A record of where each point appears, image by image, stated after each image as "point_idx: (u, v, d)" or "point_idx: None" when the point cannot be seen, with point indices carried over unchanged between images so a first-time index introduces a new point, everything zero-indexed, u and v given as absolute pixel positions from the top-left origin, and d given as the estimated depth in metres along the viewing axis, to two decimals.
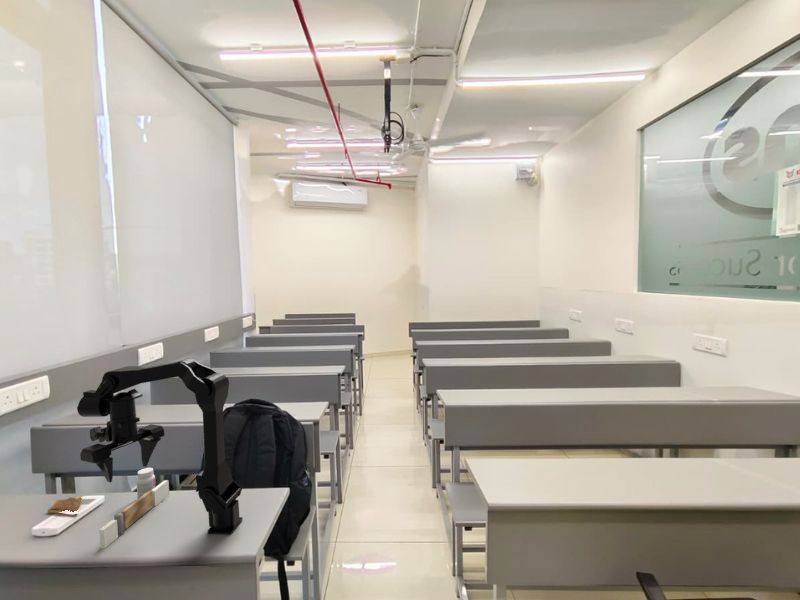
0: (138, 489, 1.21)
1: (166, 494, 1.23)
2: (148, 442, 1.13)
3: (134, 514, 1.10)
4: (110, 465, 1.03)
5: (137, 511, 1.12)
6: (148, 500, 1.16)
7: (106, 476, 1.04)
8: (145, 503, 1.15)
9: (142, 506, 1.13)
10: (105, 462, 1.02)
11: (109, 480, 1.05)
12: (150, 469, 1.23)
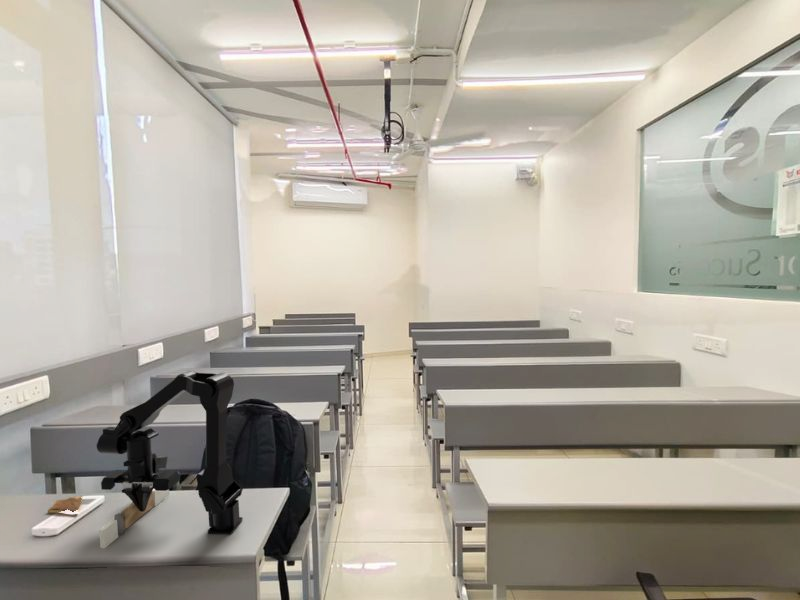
0: None
1: (166, 494, 1.23)
2: None
3: (134, 514, 1.10)
4: (131, 497, 1.09)
5: (137, 511, 1.12)
6: None
7: None
8: None
9: None
10: (125, 492, 1.09)
11: None
12: None
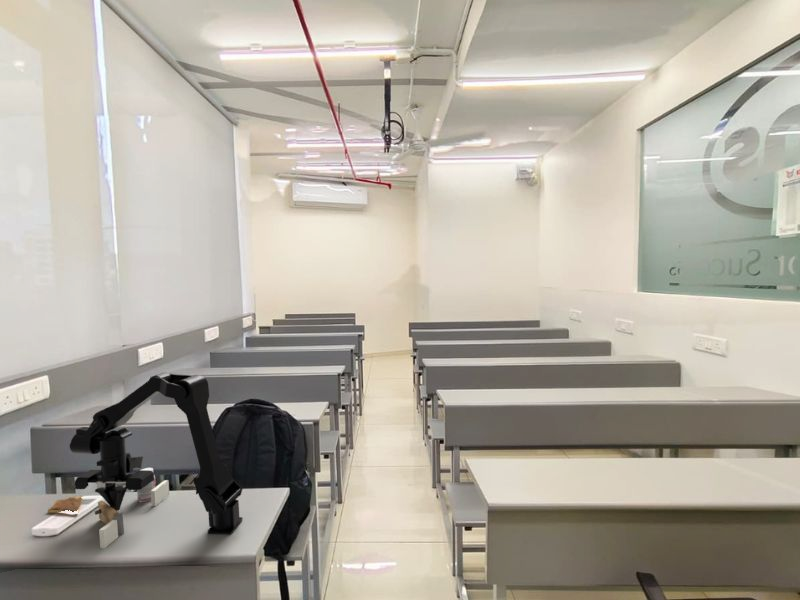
0: None
1: (166, 494, 1.23)
2: None
3: None
4: (105, 496, 1.10)
5: None
6: None
7: None
8: None
9: None
10: (98, 492, 1.09)
11: None
12: (150, 469, 1.23)
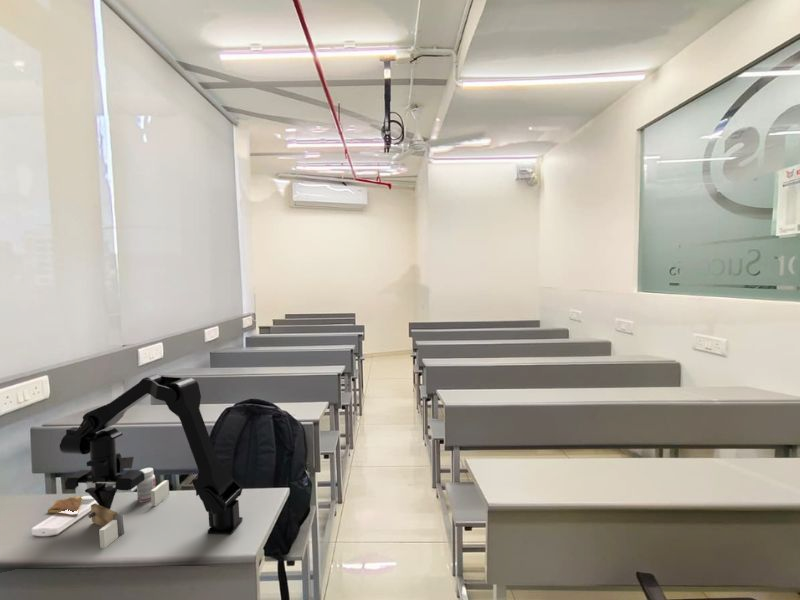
0: (138, 489, 1.21)
1: (166, 494, 1.23)
2: None
3: None
4: (95, 496, 1.10)
5: None
6: None
7: None
8: None
9: None
10: (88, 492, 1.09)
11: None
12: (150, 469, 1.23)
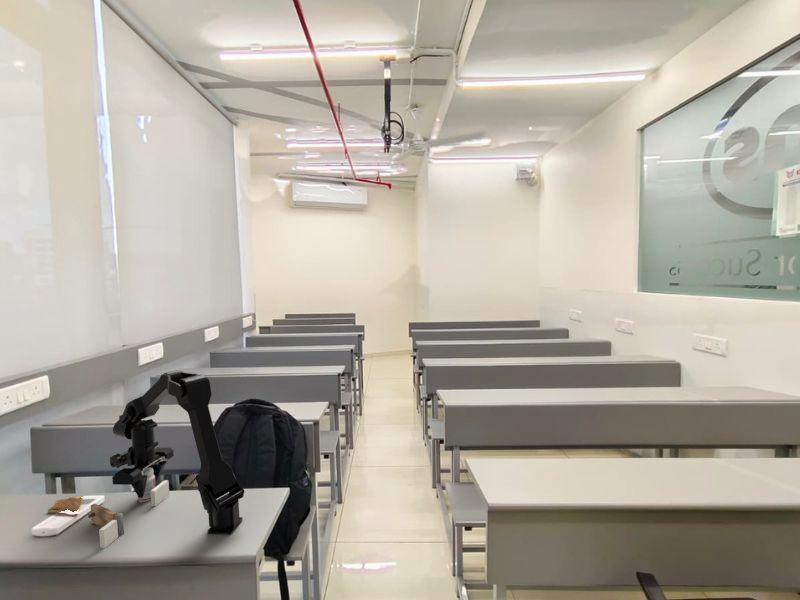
0: None
1: (166, 494, 1.23)
2: (157, 466, 1.26)
3: None
4: (145, 482, 1.19)
5: None
6: None
7: (138, 492, 1.20)
8: None
9: None
10: (143, 479, 1.18)
11: (141, 495, 1.20)
12: (150, 469, 1.23)
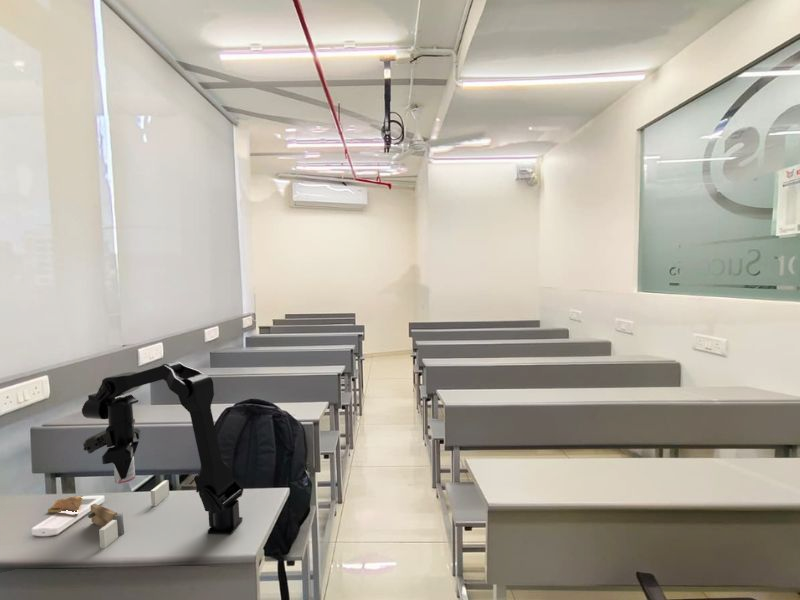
0: None
1: (166, 494, 1.23)
2: (131, 446, 1.18)
3: None
4: (131, 459, 1.13)
5: None
6: None
7: (122, 473, 1.12)
8: None
9: None
10: (132, 456, 1.12)
11: (125, 476, 1.13)
12: None
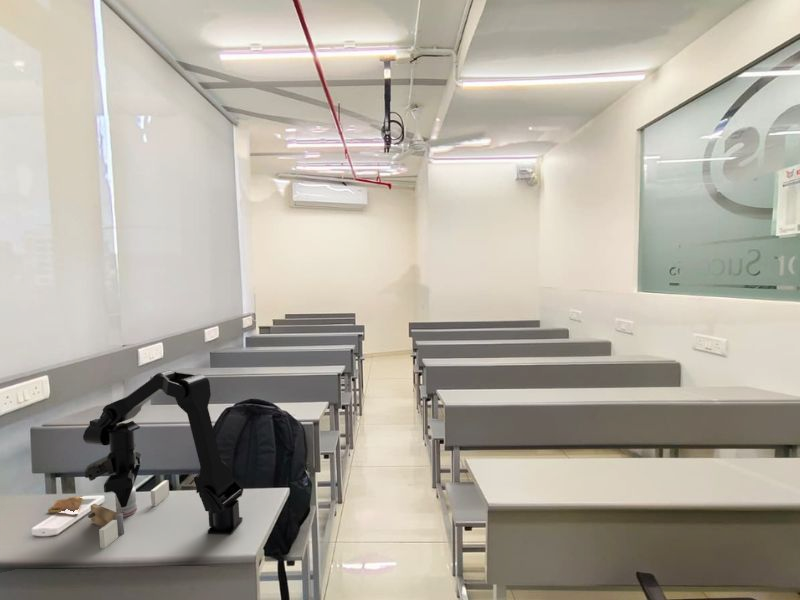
0: None
1: (166, 494, 1.23)
2: (133, 470, 1.20)
3: None
4: None
5: None
6: None
7: (123, 501, 1.12)
8: None
9: None
10: (133, 484, 1.11)
11: (125, 504, 1.12)
12: None
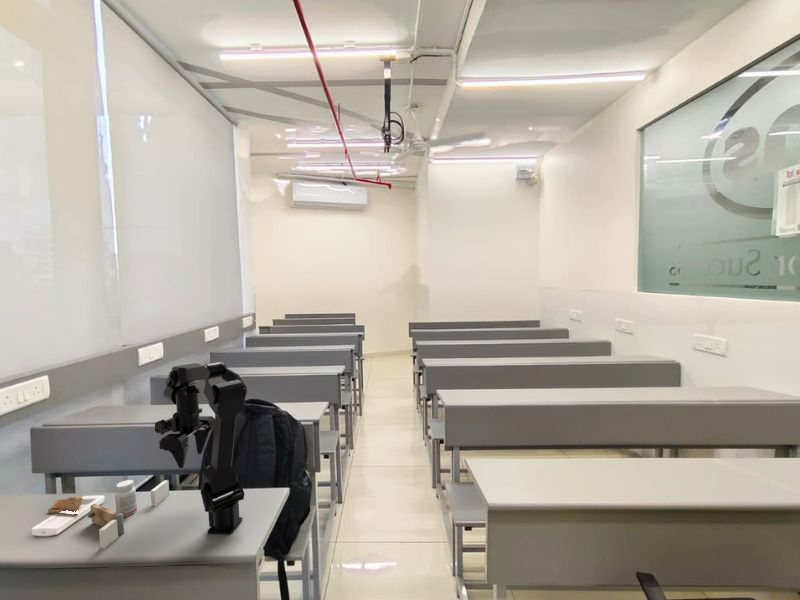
0: (121, 503, 1.13)
1: (166, 494, 1.23)
2: (204, 431, 1.25)
3: None
4: (186, 451, 1.14)
5: None
6: None
7: (179, 462, 1.15)
8: None
9: None
10: (184, 448, 1.13)
11: (182, 466, 1.15)
12: (129, 481, 1.16)
